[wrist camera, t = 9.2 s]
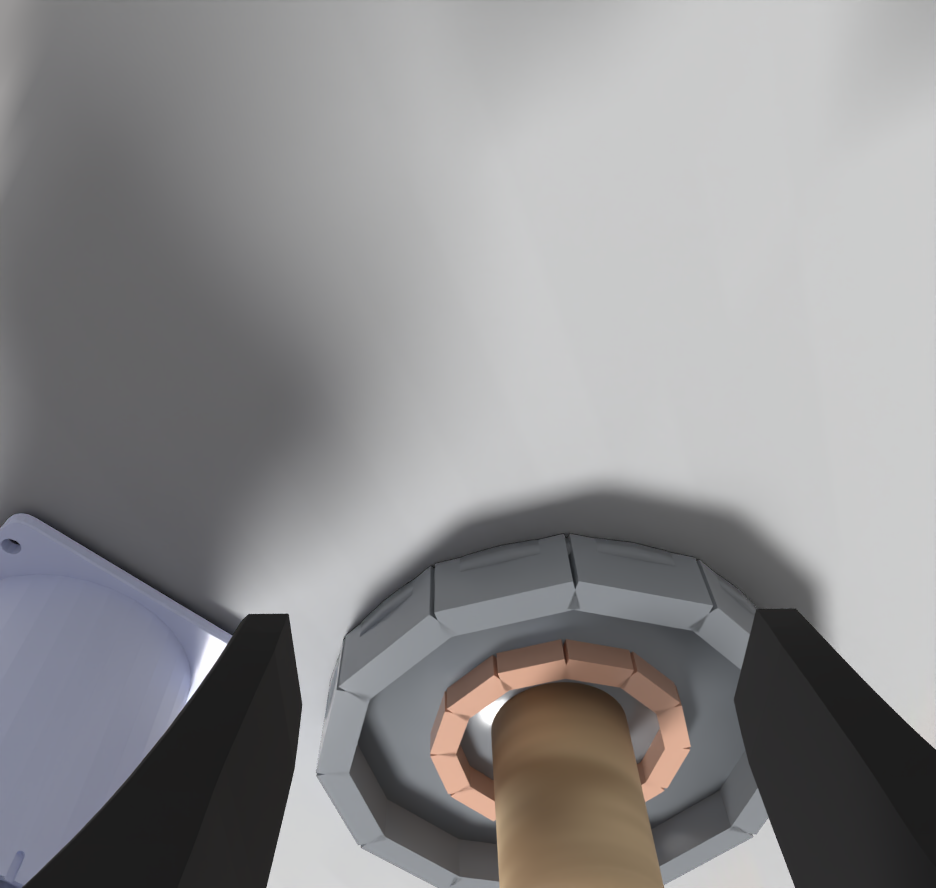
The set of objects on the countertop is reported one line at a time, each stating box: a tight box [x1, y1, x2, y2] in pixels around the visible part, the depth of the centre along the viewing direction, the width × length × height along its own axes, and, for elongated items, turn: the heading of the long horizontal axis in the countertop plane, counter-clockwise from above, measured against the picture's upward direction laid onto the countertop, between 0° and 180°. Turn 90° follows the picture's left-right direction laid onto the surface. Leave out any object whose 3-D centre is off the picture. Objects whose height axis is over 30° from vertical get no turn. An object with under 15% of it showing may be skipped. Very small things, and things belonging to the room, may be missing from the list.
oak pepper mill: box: [491, 682, 664, 888], centre depth 25 cm, size 4×4×6 cm
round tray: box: [316, 534, 768, 888], centre depth 27 cm, size 15×15×2 cm
